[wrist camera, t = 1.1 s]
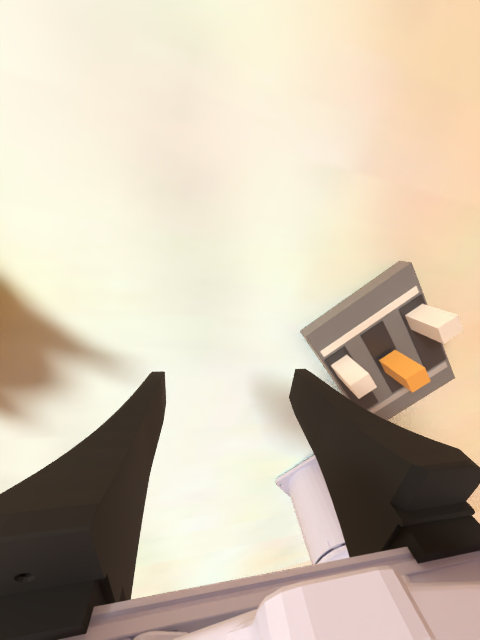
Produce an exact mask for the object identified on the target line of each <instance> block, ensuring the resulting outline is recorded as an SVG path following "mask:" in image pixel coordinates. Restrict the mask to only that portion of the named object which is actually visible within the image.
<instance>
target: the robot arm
mask: <svg viewBox="0 0 480 640" xmlns="http://www.w3.org/2000/svg"><path fill="white" fill-rule="evenodd" d="M289 399H290V402H291V405H292V408H293V411H294V413H295V416H296V418H297V420H298V422H299V424H300V426H301V428H302V430H303V432H304V434H305V436H306V438H307V440H308V442H309V444H310V446H311V448H312V450H313V452H314V455H313V456H312V457H310V458H308V459H307V460H305V461H304V462H302V463H301V464H299V465H297V466H296V467H294V468H293V469H291V470H289V471H288V472H286V473H285V474H283V475H281V476H280V477H278V478H277V479H276V480H275V483H276V485H277V486H279V487H280V488H281V489H282V490H283V491H284V492H285V493H286V494H288V495H289V496H290V497H291V500H292V503H293V506H294V509H295V513H296V516H297V519H298V522H299V525H300V528H301V532H302V535H303V538H304V541H305V544H306V547H307V550H308V554H309V557H310V560H311V562H312V565H309V566H304V567H298V568H293V569H288V570H283V571H278V572H272V573H267V574H262V575H257V576H252V577H246V578H241V579H236V580H231V581H226V582H220V583H215V584H210V585H205V586H200V587H194V588H189V589H184V590H179V591H174V592H168V593H163V594H158V595H153V596H148V597H142V598H137V599H132V600H131V593H132V586H133V579H134V571H135V564H136V557H137V551H138V544H139V537H140V531H141V524H142V518H143V512H144V506H145V499H146V493H147V488H148V482H149V476H150V472H151V467H152V463H153V459H154V455H155V452H156V448H157V444H158V440H159V436H160V433H161V429H162V425H163V420H164V414H165V407H166V390H165V372H151V373H150V374H149V376H148V377H147V378H146V380H145V381H144V382H143V383H142V384H141V386H140V387H139V388H138V389H137V390H136V391H135V393H134V394H133V395H132V396H131V397H130V398H129V399H128V400H127V401H126V402H125V403H124V404H123V405H122V406H121V408H120V409H119V410H118V411H117V412H116V413H115V414H114V415H112V416H111V417H110V418H109V419H108V420H107V421H106V422H105V423H104V424H103V425H101V426H100V427H99V428H98V429H97V430H96V431H94V432H93V433H92V434H91V435H89V436H88V437H87V438H86V439H84V440H83V441H82V442H80V443H79V444H78V445H76V446H75V447H74V448H72V449H71V450H70V451H68V452H67V453H65V454H64V455H63V456H61V457H60V458H58V459H57V460H55V461H54V462H52V463H51V464H49V465H48V466H46V467H45V468H43V469H41V470H40V471H38V472H37V473H35V474H34V475H32V476H30V477H28V478H27V479H25V480H23V481H22V482H20V483H18V484H17V485H15V486H13V487H12V488H10V489H8V490H7V491H5V492H3V493H1V494H0V640H480V524H479V523H478V522H477V521H476V520H475V518H473V516H472V515H473V514H474V513H475V511H474V509H473V508H472V507H471V506H470V505H469V504H468V503H467V502H466V500H467V499H468V498H469V497H470V495H471V494H472V493H473V492H474V490H475V489H476V488H477V487H478V485H479V484H480V467H479V466H478V465H476V464H475V463H474V462H473V461H472V460H471V459H470V458H469V457H467V456H466V455H465V454H464V453H463V452H462V451H461V450H459V449H457V448H454V447H451V446H449V445H446V444H443V443H440V442H437V441H434V440H432V439H429V438H426V437H424V436H421V435H419V434H416V433H414V432H411V431H409V430H407V429H404V428H402V427H400V426H398V425H396V424H393V423H391V422H389V421H387V420H385V419H383V418H381V417H379V416H377V415H375V414H373V413H372V412H370V411H368V410H366V409H364V408H363V407H361V406H359V405H358V404H356V403H354V402H353V401H351V400H350V399H348V398H347V397H345V396H343V395H342V394H341V393H339V392H338V391H336V390H335V389H333V388H332V387H330V386H329V385H328V384H326V383H325V382H323V381H322V380H321V379H319V378H318V377H317V376H315V375H314V374H312V373H311V372H309V371H308V370H306V369H295V373H294V378H293V382H292V387H291V391H290V395H289Z"/></svg>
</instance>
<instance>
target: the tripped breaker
mask: <svg viewBox="0 0 480 640" xmlns="http://www.w3.org/2000/svg"><path fill="white" fill-rule="evenodd" d="M379 361H380V363H381V365H382V367H383V369H384V371H385V372H386V373H387V374H388V375H390V376H391V377H392V378H394V379H395V380H396V381H397V382H399V383H400V384H401V385H403V386H404V387H405V388H407V389H408V390H409V391H411V392H412V393H413V392H415V391H416V390H418V389H419V388H421V387H422V386H424V385H426V384H427V383H429V382H430V381H431V380H430V378H429V376H428V373H427V371H426V369H425V367H423V366H422V365H420V364H418V363H417V362H415V361H413V360H412V359H410V358H408V357H407V356H405V355H403V354H402V353H400V352H398V351H397V350H394V351H392V352H391V353H389V354H388V355H386V356H385V357H383V358H382V359H380V360H379Z"/></svg>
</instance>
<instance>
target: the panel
mask: <svg viewBox="0 0 480 640" xmlns="http://www.w3.org/2000/svg"><path fill="white" fill-rule="evenodd" d="M300 332H301V334H302V335H303V336H304V338H305V339H306V341H307V342H308V344H309V345H310V347H311V348H312V350H313V351H314V353H315V354H316V355H317V357H318V358H319V360H320V361H321V363H322V364H323V366H324V367H325V369H326V370H327V371H328V373H329V374H330V376H331V377H332V379H333V380H334V382H335V383H336V385H337V386H338V388H339V389H340V390H341V392H342V393H343V395H344V396H345V397H347V398H348V399H350V400H351V401H353V402H354V403H356V404H358V405H359V406H361V407H363V408H364V409H366V410H368V411H370V412H372V413H373V414H375V415H377V416H379V417H381V418H383V419H385V420H388V419H390V418H391V417H393V416H395V415H396V414H398V413H399V412H401V411H403V410H404V409H406V408H407V407H409V406H411V405H412V404H414V403H415V402H417V401H419V400H420V399H422V398H423V397H425V396H427V395H428V394H430V393H432V392H433V391H435V390H436V389H438V388H440V387H441V386H443V385H444V384H446V383H448V382H449V381H451V380H452V379H454V378H455V377H454V374H453V371H452V369H451V366H450V363H449V361H448V358H447V355H446V353H445V350H444V347H443V345H442V344H445V343H446V342H448V341H450V340H451V339H453V338H454V337H456V336H457V335H459V334H460V333H462V332H464V331H463V327H462V324H461V321H460V318H459V315H457V314H454V313H451V312H447V311H444V310H441V309H438V308H434V307H431V306H428V305H427V302H426V300H425V297H424V294H423V292H422V289H421V286H420V284H419V281H418V279H417V276H416V273H415V271H414V268H413V265H412V263H411V262H404V261H399V262H397V263H396V264H395V265H393V266H392V267H390V268H389V269H387V270H386V271H385V272H383V273H382V274H380V275H379V276H378V277H376V278H375V279H373V280H372V281H370V282H369V283H368V284H366V285H365V286H363V287H362V288H360V289H359V290H358V291H356V292H355V293H353V294H352V295H351V296H349V297H348V298H346V299H345V300H343V301H342V302H341V303H339V304H338V305H336V306H335V307H334V308H332V309H331V310H329V311H328V312H326V313H325V314H324V315H322V316H321V317H319V318H318V319H316V320H315V321H314V322H312V323H311V324H309V325H308V326H307V327H305V328H304V329H302V330H301V331H300ZM394 350H397V351H398V352H400V353H402V354H403V355H405V356H407V357H408V358H410V359H412V360H413V361H415V362H417V363H418V364H420V365H422V366H423V367H425V369H426V371H427V373H428V376H429V378H430V380H431V381H430V382H429V383H427V384H426V385H424V386H422V387H421V388H419V389H418V390H416V391H415V392H413V393H412V392H411V391H409V390H408V389H407V388H405V387H404V386H403V385H401V384H400V383H399V382H397V381H396V380H395V379H394V378H392V377H391V376H390V375H388V374H387V373H386V372H385V371H384V369H383V367H382V365H381V363H380V361H379V360H380V359H382V358H383V357H385V356H386V355H388V354H389V353H391V352H392V351H394Z"/></svg>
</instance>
